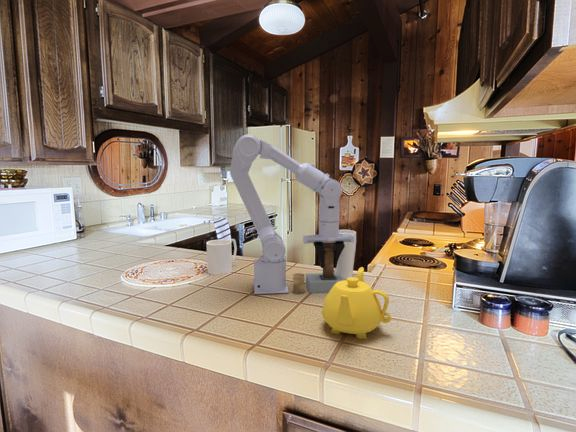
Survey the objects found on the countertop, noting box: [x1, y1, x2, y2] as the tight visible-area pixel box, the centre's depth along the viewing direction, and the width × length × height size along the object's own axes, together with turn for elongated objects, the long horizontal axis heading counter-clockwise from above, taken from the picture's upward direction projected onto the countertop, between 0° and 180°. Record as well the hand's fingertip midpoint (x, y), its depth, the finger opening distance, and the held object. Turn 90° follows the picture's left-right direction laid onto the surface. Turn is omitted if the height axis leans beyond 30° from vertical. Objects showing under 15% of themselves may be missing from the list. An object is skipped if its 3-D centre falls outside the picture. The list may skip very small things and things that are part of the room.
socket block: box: [305, 272, 343, 294], centre depth 100 cm, size 10×8×3 cm
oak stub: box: [292, 272, 305, 295], centre depth 97 cm, size 3×3×5 cm
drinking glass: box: [335, 229, 357, 280], centre depth 108 cm, size 7×7×15 cm
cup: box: [206, 238, 238, 276], centre depth 117 cm, size 8×12×10 cm
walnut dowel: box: [322, 248, 335, 278], centre depth 100 cm, size 3×3×8 cm
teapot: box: [321, 266, 392, 340], centre depth 74 cm, size 20×15×12 cm
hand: (328, 266), depth 100 cm, fingers closed on walnut dowel, 3 cm apart
